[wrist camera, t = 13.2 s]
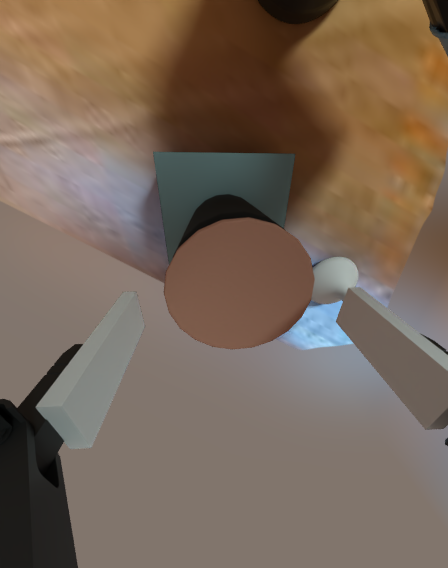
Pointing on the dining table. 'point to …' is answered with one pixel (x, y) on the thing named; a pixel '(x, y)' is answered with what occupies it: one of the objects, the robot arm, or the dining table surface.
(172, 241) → the green riser stand
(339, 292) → the flower in vase
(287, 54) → the dining table surface
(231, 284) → the coffee jar
